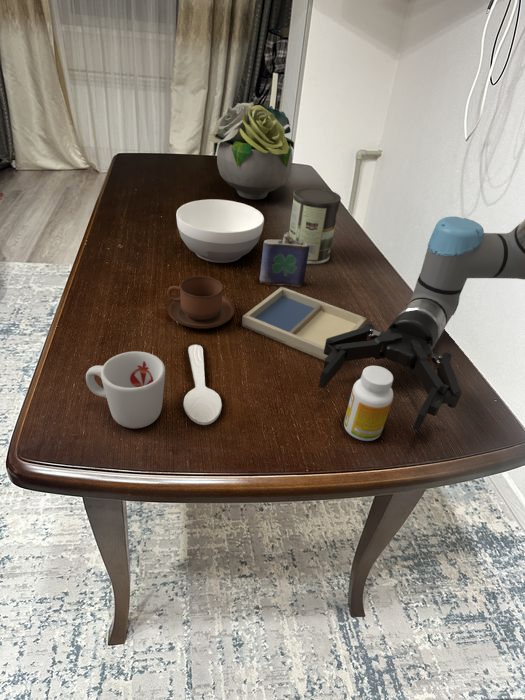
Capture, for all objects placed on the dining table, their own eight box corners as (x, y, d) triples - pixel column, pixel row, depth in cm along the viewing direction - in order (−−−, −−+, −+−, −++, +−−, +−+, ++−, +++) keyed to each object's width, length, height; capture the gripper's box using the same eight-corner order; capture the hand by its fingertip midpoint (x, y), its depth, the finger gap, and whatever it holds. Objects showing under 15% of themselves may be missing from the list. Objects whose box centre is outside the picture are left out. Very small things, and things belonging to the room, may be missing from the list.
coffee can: (319, 244, 119) (330, 186, 111) (336, 263, 111) (348, 202, 103) (279, 245, 116) (287, 186, 108) (294, 265, 109) (303, 203, 100)
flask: (259, 284, 100) (264, 234, 94) (259, 277, 103) (264, 228, 96) (304, 287, 101) (312, 238, 95) (302, 280, 103) (310, 232, 97)
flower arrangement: (196, 184, 147) (197, 93, 132) (269, 179, 157) (277, 94, 143) (231, 214, 130) (237, 114, 115) (310, 206, 140) (324, 113, 126)
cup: (75, 422, 65) (67, 376, 60) (105, 385, 71) (99, 341, 66) (152, 442, 63) (149, 395, 59) (175, 402, 70) (174, 358, 65)
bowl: (245, 233, 121) (248, 198, 115) (272, 268, 107) (277, 230, 102) (168, 237, 114) (168, 200, 109) (187, 275, 100) (187, 234, 95)
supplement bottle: (389, 435, 68) (408, 381, 63) (359, 447, 66) (375, 392, 60) (365, 410, 72) (380, 358, 66) (335, 421, 70) (349, 367, 64)
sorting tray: (364, 327, 91) (366, 318, 89) (333, 364, 80) (335, 354, 79) (280, 295, 97) (281, 286, 96) (241, 326, 87) (242, 316, 86)
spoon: (211, 346, 81) (211, 343, 81) (224, 423, 67) (224, 420, 67) (178, 347, 80) (178, 344, 80) (185, 426, 66) (185, 423, 66)
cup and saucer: (168, 336, 82) (167, 304, 79) (165, 299, 92) (165, 270, 88) (239, 333, 85) (241, 303, 81) (229, 298, 94) (230, 269, 91)
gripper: (485, 378, 78) (453, 462, 62) (341, 323, 87) (283, 384, 72) (503, 339, 73) (473, 420, 58) (350, 285, 83) (290, 343, 67)
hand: (368, 400), depth 65 cm, fingers open, 13 cm apart
